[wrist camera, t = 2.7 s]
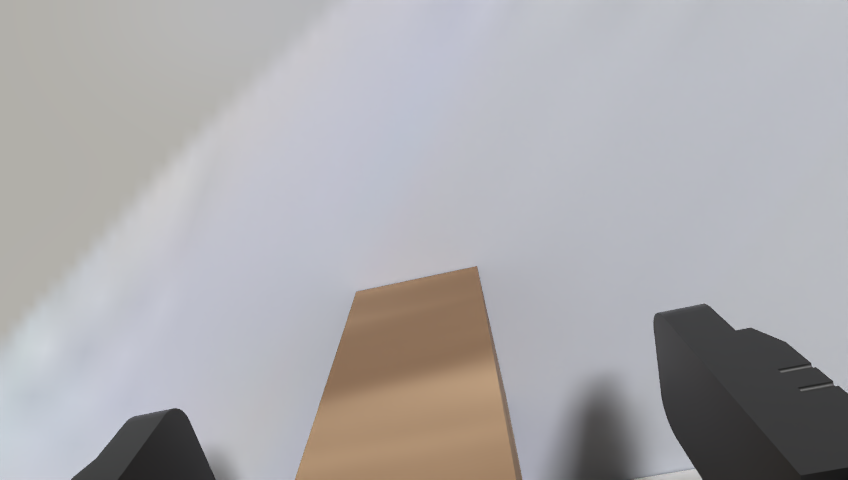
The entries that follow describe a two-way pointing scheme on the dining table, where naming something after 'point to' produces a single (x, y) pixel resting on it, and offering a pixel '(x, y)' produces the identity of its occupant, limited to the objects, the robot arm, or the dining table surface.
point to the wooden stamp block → (418, 390)
